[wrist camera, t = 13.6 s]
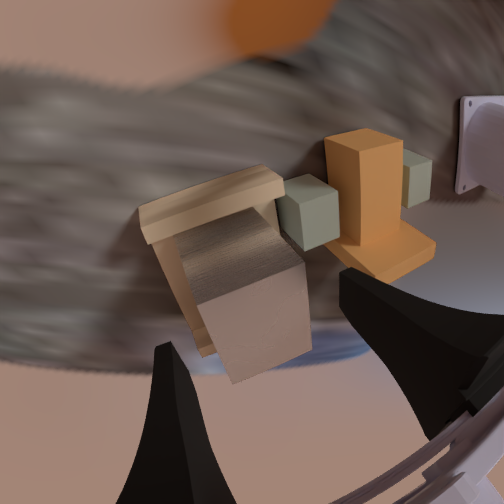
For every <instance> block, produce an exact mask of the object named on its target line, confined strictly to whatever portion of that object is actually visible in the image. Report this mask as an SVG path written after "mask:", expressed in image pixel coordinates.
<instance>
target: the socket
mask: <svg viewBox="0 0 504 504" xmlns="http://www.w3.org/2000/svg"><path fill="white" fill-rule="evenodd" d="M431 173H432V160H430V159H428V158H426V157H423V156H421V155H418V154H416V153H413V152H411V151H409V150H406V149H403V177H402V199H401V205H402V206H404V207H406V208H407V209H408V208H410V207H413V206H415V205H417V204H420V203H422V202H424V201H427V200H429V197H430V186H431ZM283 183H284V190H285V195H284V196H281V197H279V198H276V202H277V208H278V214H279V220H280V226H281V228H282V229H283V230H284V231H285V232H286V233H287V234H288V235H289V236H290V237H291V238H292V239H293V240H294V241H295V242H296V243H297V244H298V245H299V246H300V247H301V248H302V249H303V250H304V251H307V250H309V249H312V248H314V247H317V246H319V245H322V244H324V243H327V242H329V241H331V240H334V239H336V238H339V237H340V225H339V202H338V191H337V190H336V189H334V188H332V187H331V186H329V185H327V184H326V183H324V182H322V181H321V180H319V179H317V178H316V177H314V176H312V175H311V174H309V173H308V174H305V175H302V176H299V177H295V178H292V179H289V180H286V181H283Z"/></svg>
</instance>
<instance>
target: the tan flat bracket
mask: <svg viewBox="0 0 504 504" xmlns="http://www.w3.org/2000/svg"><path fill="white" fill-rule="evenodd" d="M284 195H285V190H284V183H283V178H282V177H280V176H279V175H278V174H276V173H275V172H273V171H272V170H270V169H269V168H267V167H266V166H264V165H263V164H261V165H257V166H254V167H251V168H248V169H245V170H241V171H238V172H235V173H232V174H229V175H226V176H223V177H220V178H217V179H214V180H211V181H208V182H205V183H202V184H199V185H196V186H193V187H190V188H187V189H185V190H182V191H179V192H176V193H173V194H171V195H168V196H165V197H163V198H160V199H157V200H155V201H152V202H149V203H147V204H144V205H142V206H139V207H138V208H139V218H140V227H141V230H142V232H143V235H144V237H145V240H146V242H147V244H148V245H149V244H152V246H153V249H154V251H155V253H156V256H157V258H158V260H159V263H160V265H161V267H162V269H163V272H164V274H165V276H166V278H167V280H168V283H169V285H170V287H171V289H172V291H173V294H174V296H175V298H176V300H177V302H178V304H179V306H180V308H181V310H182V312H183V315H184V317H185V319H186V321H187V323H188V325H189V327H190V329H191V331H192V333H193V337H194V340H195V343H196V346H197V349H198V351H199V353H200V354H201V356H202V358H203V357H206V356H208V355H211V354H213V353H216V352H217V350H216V348H215V346H214V344H213V341H212V339H211V337H210V335H209V333H208V330H207V328H206V326H205V324H204V321H203V319H202V317H201V315H200V312H199V310H198V308H197V305H196V302H195V300H194V297H193V294H192V291H191V288H190V285H189V282H188V280H187V277H186V274H185V271H184V268H183V265H182V262H181V259H180V256H179V253H178V250H177V247H176V243H175V240H174V237H173V235H175V234H178V233H180V232H183V231H186V230H188V229H191V228H194V227H196V226H199V225H202V224H205V223H207V222H210V221H213V220H216V219H218V218H221V217H224V216H227V215H229V214H232V213H235V212H238V211H241V210H244V209H246V208H249V207H253V208H254V209H255V210H256V211H257V212H258V213H259V214H260V215H261V216H262V217H263V218H264V219H265V220H266V221H267V222H268V223H269V224H270V225H271V226H272V228H273V229H274V230H275V231H276V232H277V233H278V234H279V235H280V231H279V225H278V219H277V213H276V207H275V201H274V199H276V198H279V197H281V196H284Z"/></svg>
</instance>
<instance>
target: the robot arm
mask: <svg viewBox="0 0 504 504" xmlns="http://www.w3.org/2000/svg"><path fill="white" fill-rule="evenodd" d="M479 185H482V186H484V187H486V188H488V189H490V190H491V191H493V192H495V193H497V194H499V195H501V196H502V197H504V96H463V97H462V98H461V100H460V134H459V151H458V164H457V174H456V184H455V192H456V193H457V194H462V193H464V192H466V191H468V190H470V189H472V188H474V187H477V186H479ZM339 281H340V286H339V307H340V308H341V310H342V311H343V313H344V315H345V316H346V318H347V319H348V321H349V322H350V324H351V325H352V326H353V327H354V329H355V330H356V331H357V332H358V333H359V334H360V336H361V337H362V338H363V339H364V340H365V341H366V343H367V344H368V345H369V346H370V347H371V348H372V349H373V351H375V353H376V354H377V355H378V356H379V358H380V359H381V360H382V361H383V363H384V364H385V365H386V366H387V368H388V369H389V371H390V372H391V374H392V375H393V377H394V378H395V380H396V381H397V383H398V385H399V386H400V388H401V390H402V391H403V393H404V395H405V396H406V398H407V400H408V402H409V403H410V405H411V407H412V409H413V411H414V413H415V415H416V416H417V418H418V421H419V423H420V425H421V427H422V429H423V431H424V434H425V436H426V437H427V438H428V439H429V441H430V442H428V443H427V444H426V445H424V446H423V447H422V448H420V449H419V450H418V451H416V452H415V453H413V454H412V455H411V456H409V457H408V458H406V459H405V460H403V461H402V462H401V463H399V464H398V465H396V466H395V467H393V468H392V469H390V470H388V471H387V472H385V473H384V474H382V475H380V476H379V477H377V478H375V479H374V480H372V481H371V482H369V483H367V484H365V485H364V486H362V487H360V488H358V489H357V490H355V491H353V492H351V493H349V494H347V495H346V496H343V497H341V498H339V499H338V500H336V501H334V502H332V503H329V504H363V503H365V502H367V501H369V500H370V499H372V498H374V497H375V496H377V495H378V494H380V493H382V492H383V491H385V490H387V489H388V488H390V487H392V486H393V485H395V484H396V483H398V482H399V481H401V480H402V479H404V478H405V477H407V476H408V475H410V474H411V473H412V472H414V471H415V470H416V469H418V468H419V467H421V466H422V465H423V464H425V463H426V462H427V461H429V460H430V459H431V458H433V457H434V456H435V455H436V454H438V453H439V452H440V451H441V450H442V449H443V448H445V447H446V446H447V445H449V443H450V450H449V451H448V452H447V453H446V454H445V455H444V456H443V457H441V458H440V459H439V460H437V461H436V462H435V463H434V464H432V465H431V466H430V467H429V468H427V469H426V470H425V471H423V472H422V475H423V477H424V478H425V479H426V481H425V482H424V483H423V484H421V485H420V486H418V487H417V488H416V489H414V490H413V491H411V492H410V493H408V494H407V495H405V496H404V497H402V498H401V499H399V500H398V501H396V502H394V503H393V504H504V500H503V498H502V497H501V496H500V494H499V493H498V491H497V490H496V489H495V487H494V486H493V485H492V483H491V482H490V481H489V479H488V478H487V477H486V475H487V474H488V473H489V472H490V470H491V469H492V468H493V467H494V466H495V465H496V463H497V462H498V461H499V460H500V459H501V457H502V456H503V455H504V315H497V314H483V313H476V312H469V311H464V310H459V309H455V308H451V307H446V306H443V305H440V304H436V303H433V302H430V301H427V300H424V299H421V298H419V297H416V296H414V295H411V294H409V293H406V292H404V291H402V290H399V289H397V288H395V287H393V286H391V285H388V284H386V283H384V282H382V281H380V280H378V279H376V278H374V277H372V276H370V275H368V274H366V273H364V272H362V271H359V270H357V269H355V268H353V267H350V268H348V269H346V270H343V271H341V272H339ZM116 504H237V503H236V501H235V499H234V497H233V495H232V493H231V491H230V489H229V487H228V485H227V483H226V481H225V479H224V476H223V474H222V472H221V470H220V468H219V465H218V463H217V460H216V458H215V456H214V453H213V451H212V448H211V445H210V442H209V439H208V435H207V432H206V428H205V424H204V420H203V416H202V413H201V409H200V405H199V401H198V397H197V393H196V390H195V387H194V384H193V382H192V379H191V376H190V373H189V371H188V369H187V367H186V366H185V364H184V362H183V361H182V359H181V358H180V356H179V354H178V353H177V351H176V349H175V348H174V346H173V344H172V343H171V341H170V342H167V343H164V344H162V345H159V346H156V348H155V352H154V366H153V376H152V384H151V391H150V398H149V404H148V409H147V414H146V419H145V424H144V428H143V433H142V436H141V440H140V444H139V447H138V450H137V453H136V456H135V459H134V462H133V465H132V468H131V470H130V473H129V475H128V478H127V481H126V483H125V485H124V488H123V490H122V492H121V494H120V496H119V498H118V500H117V502H116Z"/></svg>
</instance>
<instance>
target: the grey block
mask: <svg viewBox="0 0 504 504" xmlns="http://www.w3.org/2000/svg"><path fill="white" fill-rule="evenodd" d="M173 237H174V240H175V243H176V247H177V250H178V253H179V256H180V259H181V262H182V265H183V268H184V271H185V274H186V277H187V280H188V282H189V285H190V288H191V291H192V294H193V297H194V300H195V302H196V305H197V308H198V310H199V312H200V315H201V317H202V319H203V321H204V324H205V326H206V328H207V330H208V333H209V335H210V337H211V339H212V341H213V344H214V346H215V348H216V350H217V352H218V354H219V357H220V359H221V361H222V363H223V365H224V367H225V369H226V371H227V373H228V376H229V378H230V380H231V382H232V384H235V383H237V382H240V381H242V380H245V379H248V378H250V377H252V376H255V375H257V374H259V373H262V372H264V371H266V370H269V369H271V368H273V367H276V366H278V365H280V364H282V363H284V362H287V361H289V360H291V359H293V358H295V357H297V356H300V355H302V354H304V353H306V352H308V351H310V350H312V339H311V325H310V313H309V301H308V290H307V279H306V269H305V262H304V261H303V260H302V259H301V257H300V256H299V255H298V254H297V253H296V252H295V251H294V250H293V249H292V248H291V247H290V246H289V245H288V243H287V242H286V241H285V240H284V239H283V238H282V237H281V236H280V235H279V234H278V233H277V232H276V231H275V230H274V229H273V228H272V226H271V225H270V224H269V223H268V222H267V221H266V220H265V219H264V218H263V217H262V216H261V215H260V214H259V213H258V212H257V211H256V210H255V209H254V208H253V207H249V208H246V209H244V210H241V211H238V212H235V213H232V214H229V215H227V216H224V217H221V218H218V219H216V220H213V221H210V222H207V223H205V224H202V225H199V226H196V227H194V228H191V229H188V230H186V231H183V232H180V233H178V234H175V235H173Z"/></svg>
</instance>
